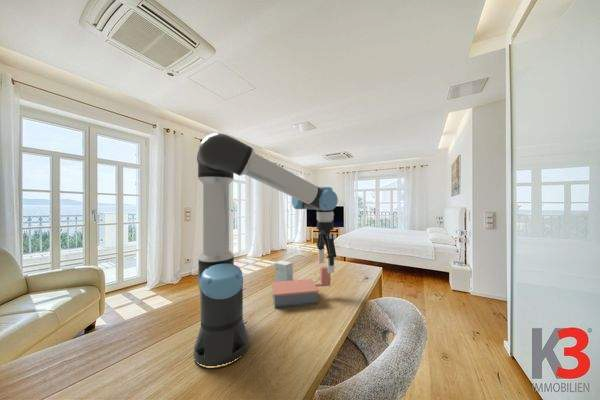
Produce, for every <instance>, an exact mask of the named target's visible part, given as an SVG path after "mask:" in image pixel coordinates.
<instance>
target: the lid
mask: <svg viewBox="0 0 600 400" xmlns="http://www.w3.org/2000/svg"><path fill="white" fill-rule="evenodd" d="M319 269H320V272H319V273H320V274H319V275H320V279H319V280H320V282H318V283H315V282H314V281H313V279H311V278H307V279H293V280H292V281H279V282H275V281H271V290H272V297H273V296H285V295H295V294H306V293H316V292H317V293H319V292H320V290H319V288H318V287H331V273H328V265H327V266H320V267H319Z"/></svg>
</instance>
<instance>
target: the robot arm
mask: <svg viewBox="0 0 600 400" xmlns="http://www.w3.org/2000/svg"><path fill="white" fill-rule="evenodd" d="M254 150H255V149H254V148H253V147H251V146H250V145H248V144H246V143H245V142H242V141H241V140H238V139H237V138H234V137H233V136H230V135H227V134H225V133H220V132H219V133H211V134H209V135H207V136H205V137H204V138H203V139H202V141H201V142H200V144H199V148H198V151H197V154H196V155H197V156H196V162H197V178H198V181H200V182H201V183H202V205H203V206H202V220H203V221H202V232H203V233H202V238H203V239H202V244H203V245H202V248H203V250H202V254H201V255H200V256H199V257H197V258H198V266H197V267H198V270H197V271H198V272H197V276H196V277H197V278H196V279H197V283H198V288H199V297H200V298H199V300H200V328H199V330H198V333H197V337H196V339H195V343H194V347H193V360H194V359H195V360H194V362H195V361H196V362H198V363H199V364H202V365H205V366H217V365H222V364H226V363H229V362H232V361H234V360H235V359H237V358H239V357H240V356H242V355H243V354H244V353H245V352H246V353H247V351H248V349H249V345H250V344H249V343H250V339H249V337H250V336H249V333H248V330H247V327H246V324H245V321H244V318H243V317H244V315H243V314H244V312H243V311H244V309H243V308H244V307H243V306H244V293H243V292H244V289H243V288H244V287H243V286H244V285H243V284H244V276H243V271H242V269H241V268H240V267H239V266H237V265H235V259H234V257H235V254H234V253H233V252H231V250H230V184H231V183H232V182H233V181H234V174H235V175H238V176H244V175H245V176H246V177H249V178H251V179H253V180H255V181H258V182H260V183H263V184H264V185H266V186H269V187H271V188H272V189H275V190H276V191H279V192H282V193H283V194H284V195H288V196H290V197H291V205H292V207H293V209H295V210H316V221H317V222H316V229H317V231H318V233H317V234H318V236H317V241H316V247H317V255H318V264H325V248H326V253H327V256H326V259H327V266H328V273H330V274H333V273H335V258H337V251H336V246H335V239H334V233H331V231H333V230H334V228H335V227H334V226H335V225H334V222H335V221H334V216H335V213H334V209H336V207H337V206H338V205H337V204H338V202H339V199H338V195H337V193H336V192H335V191H334V190H333V188H332V187H330V186H318V185H315V184H313V183H311V181H308V180H306V179H304V178H302V177H301V176H299V175H297V174H295V173H293V172H291V171H289V170H287V169H285V168H283V167H282V166H281V165H278V164H277V163H275V162H272V161H271V160H269V159H268V158H265V157H263V156H261V155H259V154H258V153H256V151H254ZM246 353H245V354H246ZM245 354H244V355H245ZM244 355H243V356H244ZM243 356H242V357H243ZM196 362H195V363H196Z"/></svg>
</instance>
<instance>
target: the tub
mask: <svg viewBox="0 0 600 400" xmlns="http://www.w3.org/2000/svg"><path fill="white" fill-rule="evenodd" d="M272 299H273V307H274V309H278V308H279V309H280V308H289V307H298V306H309V305H316V304H317V305H318V292H316V293H306V294H295V295H285V296H273V295H272Z"/></svg>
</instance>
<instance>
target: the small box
mask: <svg viewBox="0 0 600 400" xmlns="http://www.w3.org/2000/svg"><path fill="white" fill-rule="evenodd" d="M293 271H294V269H293V262H291V261H285V260H278V261H276V262H274V282H279V281H292V280H294V275H293V274H294V273H293Z"/></svg>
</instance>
